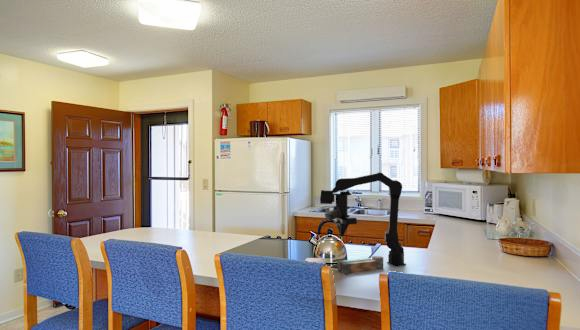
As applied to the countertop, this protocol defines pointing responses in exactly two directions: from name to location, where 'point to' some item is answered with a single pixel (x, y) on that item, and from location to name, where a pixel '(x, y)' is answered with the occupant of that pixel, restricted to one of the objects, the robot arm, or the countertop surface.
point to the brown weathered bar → (339, 263)
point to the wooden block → (363, 265)
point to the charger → (316, 260)
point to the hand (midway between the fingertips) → (341, 236)
